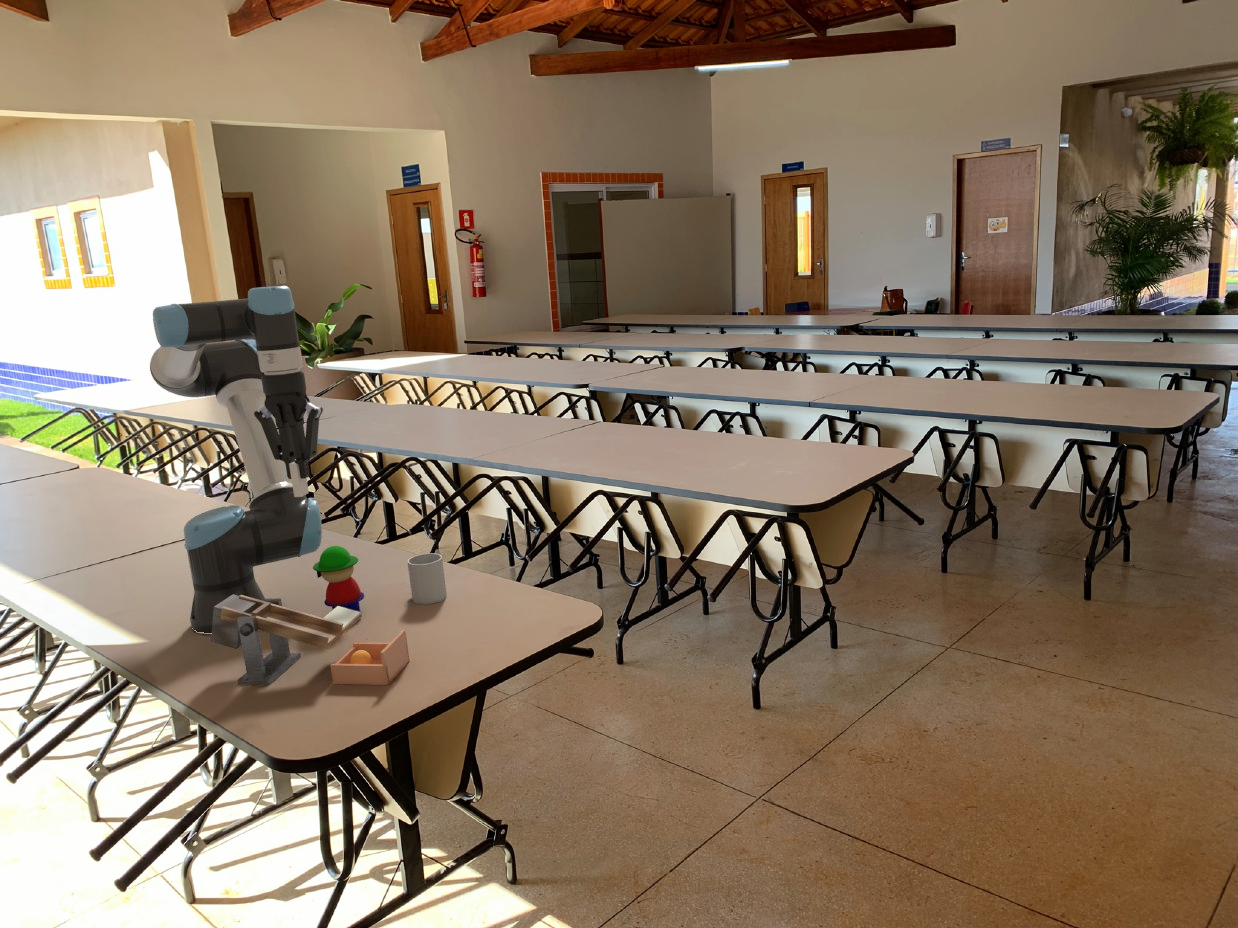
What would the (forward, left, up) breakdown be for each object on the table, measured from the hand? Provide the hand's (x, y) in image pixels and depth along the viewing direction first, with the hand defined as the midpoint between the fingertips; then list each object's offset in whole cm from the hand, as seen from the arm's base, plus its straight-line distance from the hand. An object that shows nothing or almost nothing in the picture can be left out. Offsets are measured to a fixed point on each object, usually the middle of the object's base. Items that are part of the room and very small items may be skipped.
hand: (301, 494), depth 172 cm
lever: (0, -12, -25) cm, 27 cm away
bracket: (-2, -16, -28) cm, 33 cm away
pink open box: (+18, -16, -28) cm, 37 cm away
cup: (+14, +19, -29) cm, 37 cm away
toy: (0, +9, -29) cm, 30 cm away
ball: (+16, -16, -26) cm, 35 cm away
